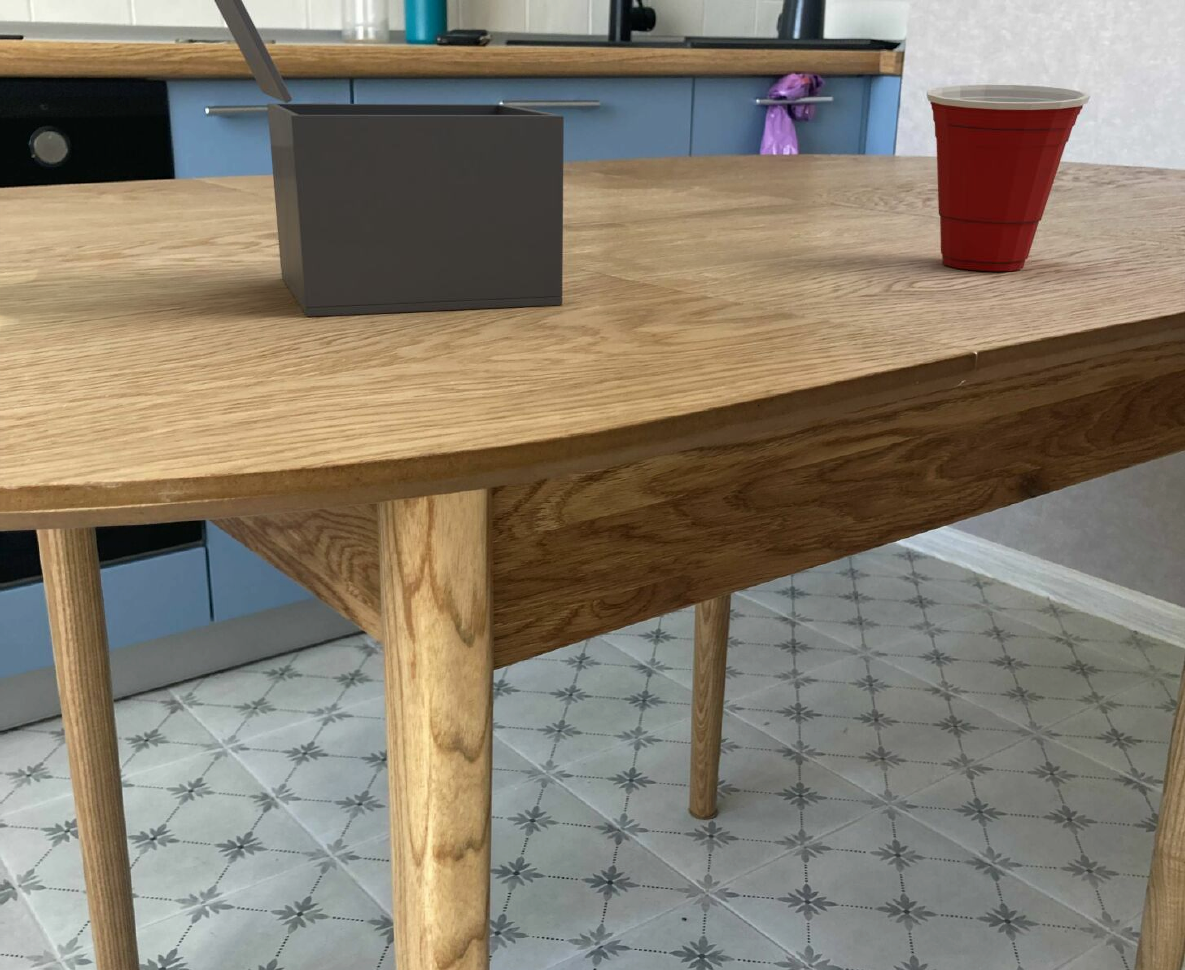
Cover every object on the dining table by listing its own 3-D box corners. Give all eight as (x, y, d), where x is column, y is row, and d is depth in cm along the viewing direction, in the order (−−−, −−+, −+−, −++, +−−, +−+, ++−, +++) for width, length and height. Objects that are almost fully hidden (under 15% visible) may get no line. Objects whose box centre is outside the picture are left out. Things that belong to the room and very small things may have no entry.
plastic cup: (894, 271, 88) (915, 86, 83) (917, 250, 97) (937, 82, 92) (1056, 283, 85) (1088, 91, 80) (1064, 261, 94) (1093, 87, 89)
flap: (292, 99, 66) (286, 103, 66) (268, 90, 77) (262, 93, 77) (217, -47, 62) (210, -43, 62) (203, -35, 73) (197, -32, 73)
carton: (306, 316, 70) (291, 115, 66) (281, 277, 81) (267, 103, 77) (562, 305, 75) (564, 115, 70) (505, 269, 86) (503, 104, 81)
